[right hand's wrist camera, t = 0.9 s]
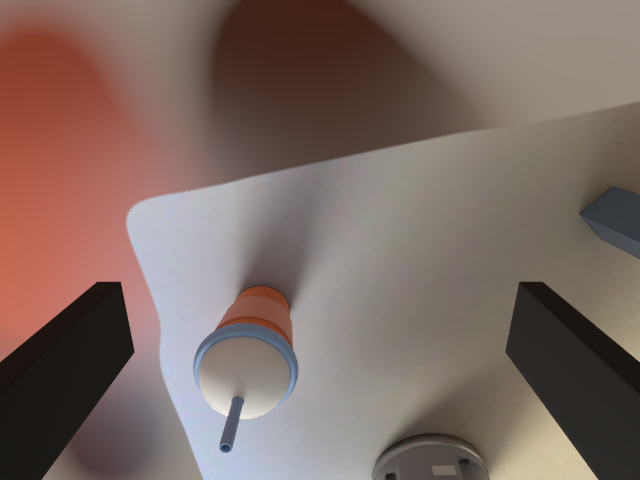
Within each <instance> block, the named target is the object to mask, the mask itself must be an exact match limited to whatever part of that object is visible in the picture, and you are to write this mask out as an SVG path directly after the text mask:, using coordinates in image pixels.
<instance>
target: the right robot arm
mask: <svg viewBox="0 0 640 480" xmlns="http://www.w3.org/2000/svg"><path fill="white" fill-rule="evenodd" d="M133 353H134V347H133V342H132V336H131V331H130V327H129V321H128V316H127V311H126V306H125V301H124V296H123V291H122V286H121V282H97V283H95V284H94V285H93V286H92V287H91V288H89V289H88V290H87V291H86V292H84V293H83V294H82V295H81V296H80V297H78V298H77V299H76V300H75V301H74V302H72V303H71V304H70V305H69V306H68V307H66V308H65V309H64V310H63V311H62V312H60V313H59V314H58V315H57V316H56V317H54V318H53V319H52V320H51V321H50V322H48V323H47V324H46V325H45V326H43V327H42V328H41V329H40V330H39V331H37V332H36V333H35V334H34V335H33V336H31V337H30V338H29V339H28V340H27V341H25V342H24V343H23V344H22V345H21V346H19V347H18V348H17V349H16V350H15V351H13V352H12V353H11V354H10V355H8V356H7V357H6V358H5V359H4V360H2V361H1V362H0V480H42V478H43V477H44V476H45V474H46V473H47V472H48V470H49V469H50V467H51V466H52V465H53V463H54V462H55V461H56V459H57V458H58V456H59V455H60V454H61V452H62V451H63V450H64V448H65V447H66V445H67V444H68V443H69V441H70V440H71V439H72V437H73V436H74V434H75V433H76V432H77V430H78V429H79V428H80V426H81V425H82V423H83V422H84V421H85V419H86V418H87V417H88V415H89V414H90V412H91V411H92V410H93V408H94V407H95V406H96V404H97V403H98V402H99V400H100V399H101V397H102V396H103V395H104V393H105V392H106V391H107V389H108V388H109V386H110V385H111V384H112V382H113V381H114V379H115V378H116V377H117V375H118V374H119V373H120V371H121V370H122V368H123V367H124V366H125V364H126V363H127V362H128V360H129V359H130V357H131V356H132V355H133ZM506 353H507V355H508V356H509V358H510V359H511V360H512V362H513V363H514V364H515V366H516V367H517V369H518V370H519V371H520V373H521V374H522V375H523V377H524V378H525V380H526V381H527V382H528V384H529V385H530V386H531V388H532V389H533V391H534V392H535V393H536V395H537V396H538V397H539V399H540V400H541V402H542V403H543V404H544V406H545V407H546V408H547V410H548V411H549V412H550V414H551V415H552V417H553V418H554V419H555V421H556V422H557V423H558V425H559V426H560V428H561V429H562V430H563V432H564V433H565V434H566V436H567V437H568V439H569V440H570V441H571V443H572V444H573V445H574V447H575V448H576V450H577V451H578V452H579V454H580V455H581V456H582V458H583V459H584V461H585V462H586V463H587V465H588V466H589V467H590V469H591V470H592V472H593V473H594V474H595V476H596V477H597V478H598V480H640V362H639V361H638V360H636V359H635V358H634V357H633V356H632V355H630V354H629V353H628V352H627V351H625V350H624V349H623V348H622V347H621V346H619V345H618V344H617V343H616V342H615V341H613V340H612V339H611V338H610V337H609V336H607V335H606V334H605V333H604V332H603V331H601V330H600V329H599V328H598V327H597V326H595V325H594V324H593V323H592V322H591V321H589V320H588V319H587V318H586V317H584V316H583V315H582V314H581V313H580V312H578V311H577V310H576V309H575V308H574V307H572V306H571V305H570V304H569V303H568V302H566V301H565V300H564V299H563V298H562V297H560V296H559V295H558V294H557V293H556V292H554V291H553V290H552V289H551V288H549V287H548V286H547V285H546V284H545V283H543V282H519V286H518V291H517V296H516V301H515V306H514V311H513V316H512V321H511V326H510V331H509V336H508V341H507V347H506ZM372 480H490V479H489V475H488V471H487V469H486V466H485V464H484V462H483V460H482V458H481V456H480V454H479V453H478V452H477V451H476V450H475V448H473V447H472V446H471V445H469V444H468V443H466V442H464V441H462V440H460V439H457V438H454V437H450V436H445V435H423V436H417V437H413V438H410V439H407V440H404V441H402V442H400V443H398V444H396V445H394V446H393V447H391V448H390V449H388V450H387V451H386V452H385V453H384V454H383V455H382V456H381V457H380V458H379V460H378V461H377V463H376V465H375V467H374V470H373V473H372Z"/></svg>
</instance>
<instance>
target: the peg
mask: <svg viewBox="0 0 640 480" xmlns="http://www.w3.org/2000/svg"><path fill="white" fill-rule="evenodd" d="M580 216H581V217H582V218H583V219H584V220H585V221H586V223H587V224H588V225H589V226H590V227H591V228H592V229H593V231H594V232H595V233H596V234H597V235H598V236H599V237H600V238H601V239H602V240H604V241H606V242H608V243H610V244H612V245H614V246H616V247H617V248H619V249H621V250H623V251H625V252H627V253H629V254H631V255H633V256H635V257H637V258H639V259H640V195H639V194H636V193H633V192H630V191H626V190H623V189H620V188H617V187H614V186H613V187H612V188H611V189H609V190H608V191H607V192H606V193H605V194H603V195H602V196H601V197H600V198H599V199H597V200H596V201H595V202H594V203H592V204H591V205H590V206H589V207H588V208H586V209H585V210H584V211H583V212H581V213H580Z"/></svg>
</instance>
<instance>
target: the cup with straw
mask: <svg viewBox="0 0 640 480" xmlns="http://www.w3.org/2000/svg"><path fill="white" fill-rule="evenodd" d="M193 371H194V377H195V381H196V383H197V385H198V387H199V389H200V391H201V392H202V393H203V395H204V397H205V399H206V400H207V402H208V403H209V404H210V405H211V406H212V407H213V408H214V409H215V410H216V411H218V412H219V413H221V414H223V415H225V416H228V417H227V421H226V424H225V428H224V431H223V435H222V438H221V442H220V445H219V450H220V451H221V452H223V453H229V452H230V451H231V450H232V447H233V443H234V439H235V435H236V431H237V426H238V422H239V419H251V418H255V417H258V416H261V415H263V414H265V413H267V412H269V411H270V410H272V409H273V408H275V407H277V406H278V405H280V404H281V403H282V402H284V401H285V400H286V399H287V398H288V397H289V395H290V394H291V392H292V391H293V389H294V387H295V384H296V382H297V377H298V362H297V358H296V355H295V353H294V351H293V339H292V322H291V319H290V310H289V305H288V303H287V301H286V299H285V298H284V296H283V295H282V294H281V293H279V292H278V291H276V290H275V289H273V288H270V287H265V286H256V287H252V288H249V289H247V290H245V291H244V292H242V293H241V294H240V295H239V296H238V298H237V299H236V301H235V302H234V304H233V305H231V307H230V308H229V309H228V310H227V312H226V313H225V315H224V317H223V318H222V320H221V321H220V323H219V325H218V326H217V328H216V329H215V331H214V332H212V333H211V334H210V335H209V336H207V337H206V338H205V339H204V341H203V342H202V343H201V345H200V346H199V348H198V350H197V352H196V355H195V359H194V365H193Z"/></svg>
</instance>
